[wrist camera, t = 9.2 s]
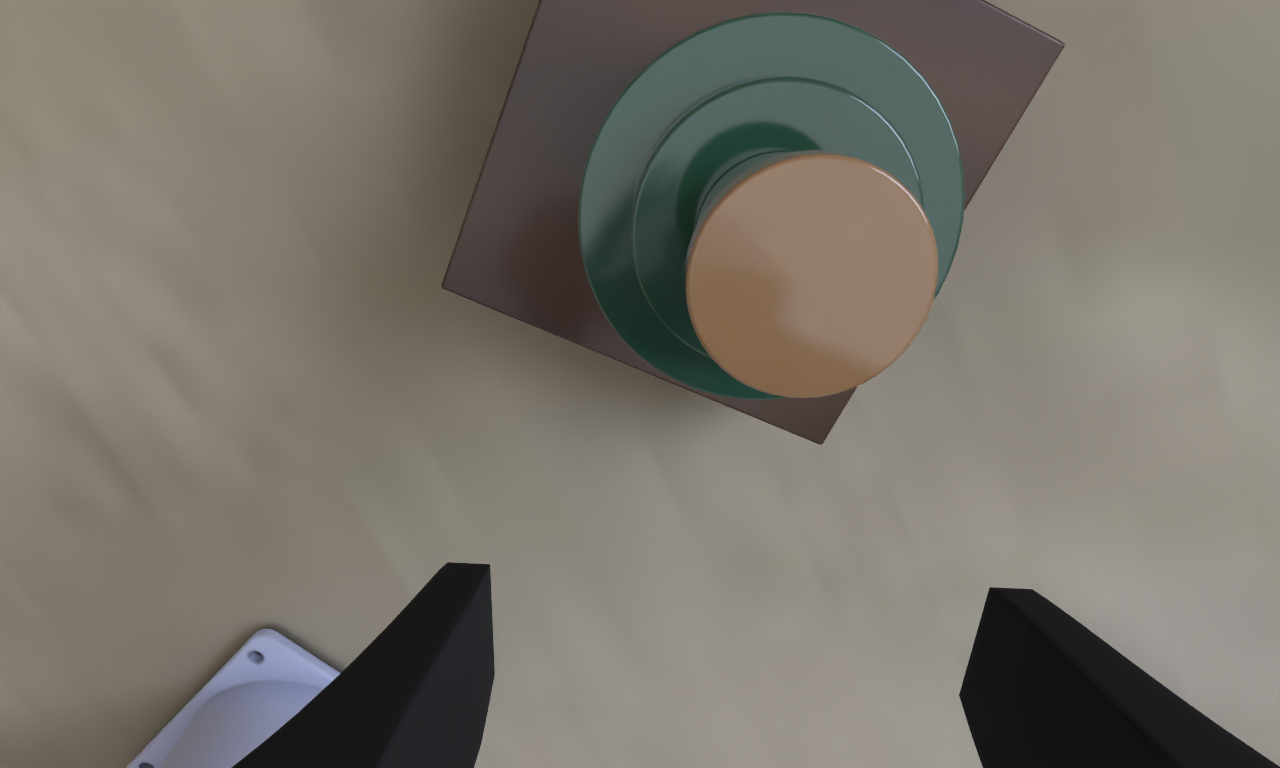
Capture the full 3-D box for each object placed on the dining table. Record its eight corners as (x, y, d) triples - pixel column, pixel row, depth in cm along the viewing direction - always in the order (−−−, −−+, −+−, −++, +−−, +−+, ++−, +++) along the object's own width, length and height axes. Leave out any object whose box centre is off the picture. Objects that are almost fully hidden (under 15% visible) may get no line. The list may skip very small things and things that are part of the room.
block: (791, 377, 20) (822, 446, 17) (480, 245, 19) (439, 288, 15) (978, 47, 17) (1067, 43, 13) (618, -140, 16) (608, -201, 12)
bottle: (726, 343, 16) (790, 586, 9) (549, 175, 15) (442, 291, 7) (915, 168, 14) (1189, 278, 7) (736, -37, 13) (843, -164, 6)
